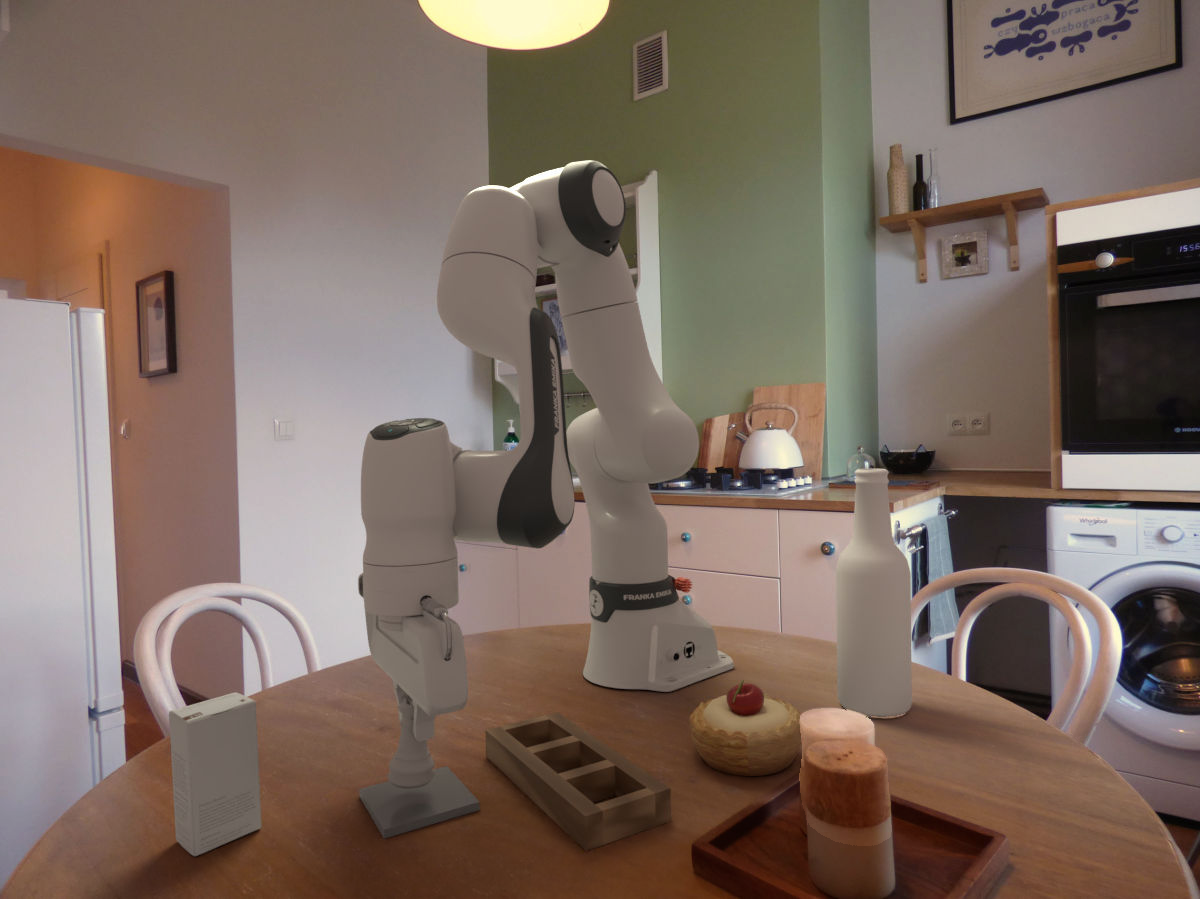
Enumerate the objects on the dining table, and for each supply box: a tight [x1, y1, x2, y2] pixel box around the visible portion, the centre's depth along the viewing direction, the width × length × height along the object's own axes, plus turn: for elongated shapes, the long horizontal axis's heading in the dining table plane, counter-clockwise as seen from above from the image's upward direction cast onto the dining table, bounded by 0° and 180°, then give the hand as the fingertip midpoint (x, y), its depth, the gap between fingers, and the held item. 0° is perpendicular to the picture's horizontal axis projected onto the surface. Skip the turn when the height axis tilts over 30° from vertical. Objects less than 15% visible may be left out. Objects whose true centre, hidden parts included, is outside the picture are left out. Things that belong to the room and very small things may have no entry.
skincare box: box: [168, 691, 262, 857], centre depth 67 cm, size 6×4×12 cm
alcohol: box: [835, 468, 913, 719], centre depth 94 cm, size 9×9×30 cm
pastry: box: [688, 680, 802, 777], centre depth 81 cm, size 12×12×9 cm
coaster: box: [358, 765, 481, 839], centre depth 73 cm, size 9×9×1 cm
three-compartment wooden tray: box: [484, 712, 672, 852], centre depth 76 cm, size 9×22×3 cm, turn 31°
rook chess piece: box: [387, 694, 435, 789], centre depth 73 cm, size 4×4×8 cm
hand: (416, 730), depth 73 cm, fingers closed on rook chess piece, 3 cm apart
